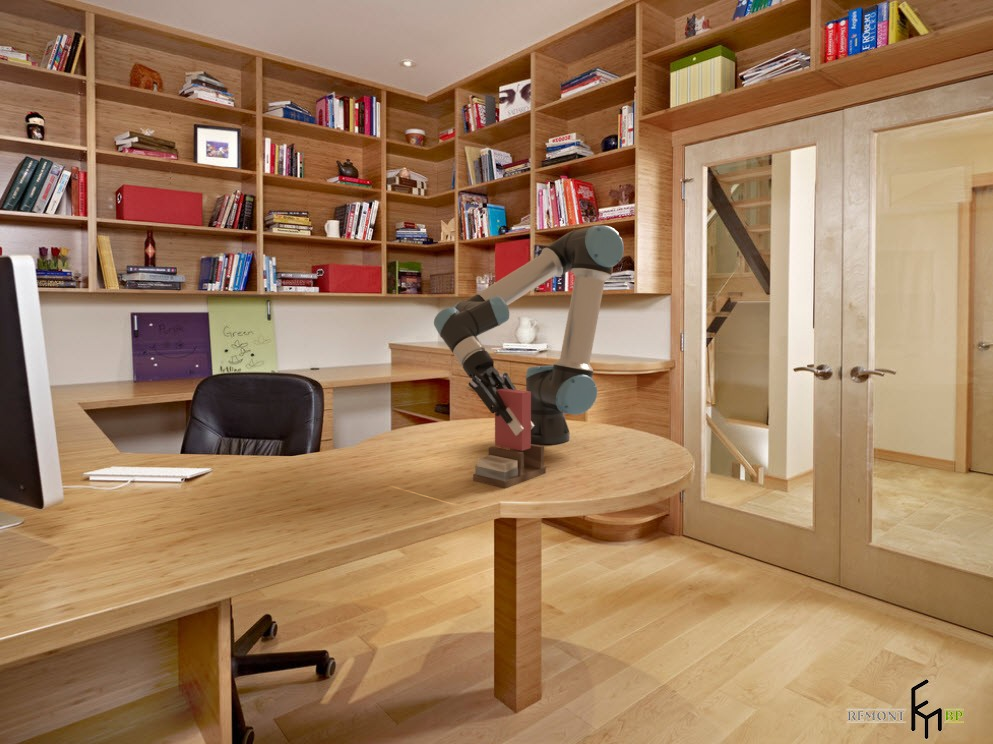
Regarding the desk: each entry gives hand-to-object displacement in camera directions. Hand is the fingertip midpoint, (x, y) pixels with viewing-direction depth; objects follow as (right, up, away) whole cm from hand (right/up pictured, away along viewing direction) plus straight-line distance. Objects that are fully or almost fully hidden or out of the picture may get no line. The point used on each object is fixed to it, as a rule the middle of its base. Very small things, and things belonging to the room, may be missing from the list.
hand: (525, 430), depth 150 cm
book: (-3, -4, +3) cm, 6 cm away
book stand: (-4, -11, +2) cm, 12 cm away
